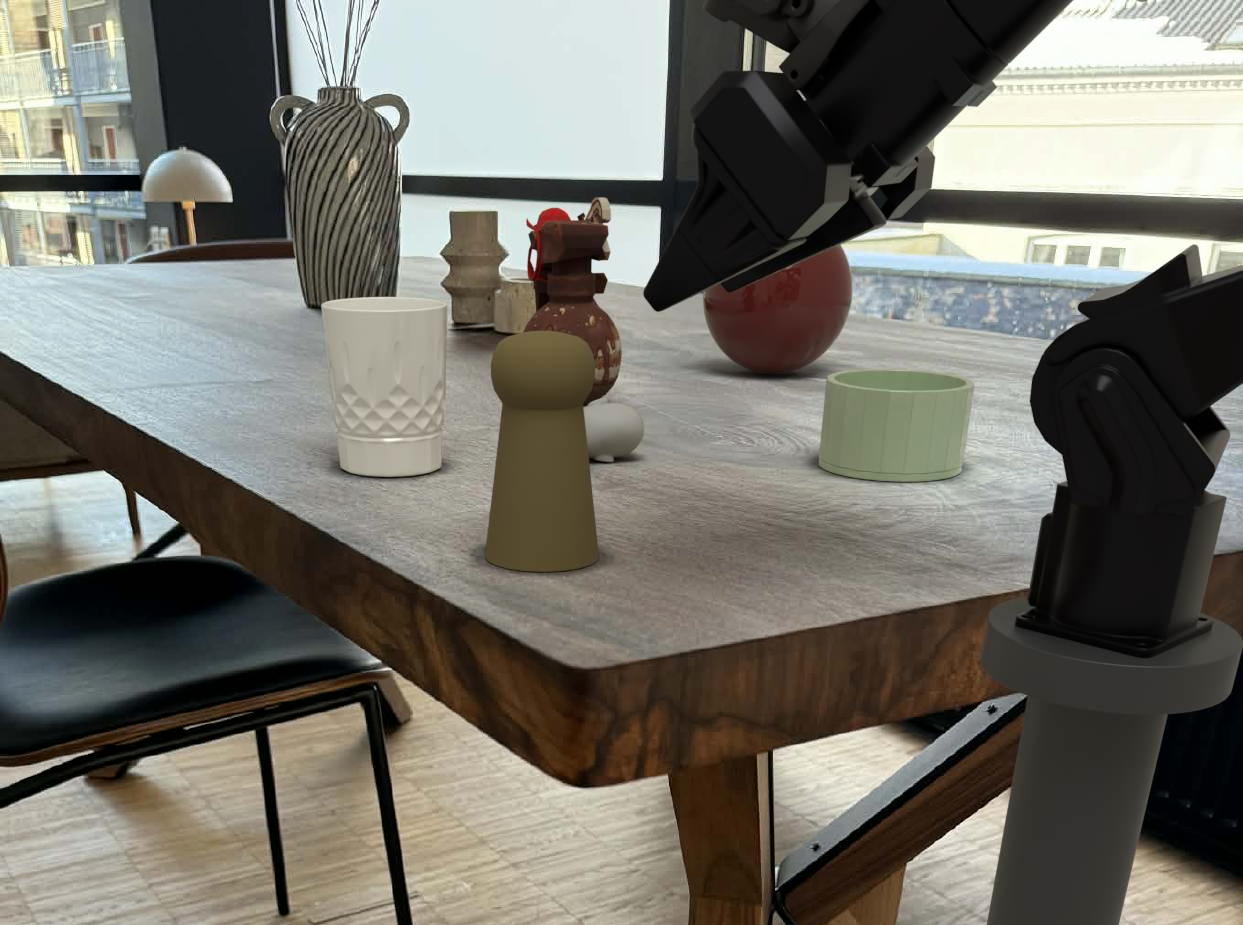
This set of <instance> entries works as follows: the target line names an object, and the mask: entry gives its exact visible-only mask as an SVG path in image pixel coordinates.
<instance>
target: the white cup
mask: <svg viewBox="0 0 1243 925" xmlns="http://www.w3.org/2000/svg"><path fill="white" fill-rule="evenodd" d="M320 308H321V315H322V316H321V317H322V326H323V335H324V345H325V354H326V355H325V356H326V365H327V375H328V383H329V388H330V399H331V407H332V414H333V422H334V425H335V427H336V429H337V431H336V435H337V446H338V456H339V466H340V468H341V470H344V471H346V472H347V473H350V474H355V475H358V476H365V477H384V478H388V477H389V478H393V477H394V478H395V477H410V476H411V477H412V476H419V475H424V474H425V475H426V474H429V473H433V472H435V471H437V470H439V469H441V468H442V463H443V462H442V461H443V432H444V431H443V427H444V424H445V418H446V417H445V406H446V398H447V397H446V394H447V393H446V389H447V387H446V382H447V381H446V379H447V335H448V334H447V333H448V332H447V331H448V330H447V327H448V326H447V324H448V304H447V302H445V301H442V300H439V299H434V298H433V299H432V298H425V297H424V298H422V297H409V296H371V297H370V296H364V297H349V298H340V299H333V300H327V301H325V302H323V303H321V305H320Z"/></svg>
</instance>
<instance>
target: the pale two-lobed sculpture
mask: <svg viewBox="0 0 1243 925" xmlns="http://www.w3.org/2000/svg"><path fill="white" fill-rule="evenodd" d="M583 408H584V417H585V427H586V436H587V446H588V456H589V460H591V459H592V460H595V461H598V462H606V463H614V462H615V458H621V457H624V456H627V455H629V454H631V453H632V452H633V451H634V450H636V449H637V448H638V446H640V443H641V442H642V440H643V437H644V434H645V424H644V420H643V417H642V416H641V413H640V412H639V411H637V409H635V408H634V407H632V406H630V405H628V404H625V403H621V402H609V399H608V398H607V397H602V398H600V399H597V400H595V401H592V402H590V403H589V404H588V405H587V406H583Z"/></svg>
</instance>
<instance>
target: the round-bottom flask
mask: <svg viewBox="0 0 1243 925" xmlns="http://www.w3.org/2000/svg"><path fill="white" fill-rule="evenodd" d="M853 285H854V284H853V275H852V269H851V265H850V262H849V258H848V256H847V254H846V252H845V250H844V248H843V246H842V244H841V245H838V246H836V247H834V248H832V249H829V250H827V251H825V252H823V253H820V254H818V255H816V256H813V257H811V258H809V259H807V260H804V261H802V262H799V263H797V264H795V265H793V266H791V267H788V268H786V269H784V270H782V271H779V272H777V273H775V274H773V275H770V276H768V277H766V278H764V279H761V280H759V281H757V282H755V283H752V284H750V285H748V286H746V287H743V288H741V289H739V290H737V291H735V292H731V293H729V292H727V291H726V290H725V289H724V288H723V287H722V285H721V284H718V285H716V286H714V287H711V288H709V289H707V290H705V291H703V292H702V307H703V314H704V319H705V322H706V326H707V328H708V331H709V333H710V335H711V338H712V339H713V341H714V342H715V344H716V345H717V347H718V348H719V349H720V351H721V352H722V353H723V354H724V355H725V356H726V357H727V358H729V360H731V361H732V362H733V363H735V364H737V365H738V366H740V367H742V368H744V369H745V370H749V371H751V372H753V373H758V374H764V375H782V374H786V373H788V374H789V373H791V372H795V371H799V370H800V369H803V368H805V367H807V366H809V365H811V364H812V363H814V362H815V361H816V360H818V359H819V358H821V356H823V355H824V354H825V353H826V352H827V351H828V350H829V349H830V348H831V347H832V346H833V345H834V343H835V342H836V341H837V339H838V338H839V336H840V334H841V333H842V331H843V329H844V327H845V325H846V322H847V320H848V317H849V313H850V310H851V306H852V300H853V288H854V287H853Z"/></svg>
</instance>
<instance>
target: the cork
mask: <svg viewBox="0 0 1243 925" xmlns="http://www.w3.org/2000/svg"><path fill="white" fill-rule="evenodd" d="M490 379H491V384H492V387H493V391H494V392H495V394H496V395H497V397H498V399H499V400H500V402H501V412H500V423H499V429H498V430H499V431H498V438H497V448H496V455H495V456H496V457H495V463H494V464H495V466H494V473H493V482H492V492H491V498H490V500H491V502H490V508H489V518H488V526H487V535H486V543H485V551H484V552H485V553H484V557H485V559H486V561H487V562H488V563H490V564H492V565H494V566H496V567H501V568H505V569H507V570H514V571H522V572H538V573H539V572H540V573H548V572H549V573H550V572H564V571H572V570H579V569H581V568H585V567H588V566H591V565H593V564H595V563H596V562H597V561H598V560H599V557H600V552H599V545H598V544H599V542H598V534H597V524H596V513H595V505H594V495H593V494H594V493H593V486H592V476H591V467H590V458H589V456H588V446H587V436H586V427H585V417H584V408H583V407H584V406H583V403H584V401H585V400H586V398H587V397H588V395H589V394H590V392H591V390H592V387H593V383H594V379H595V361H594V357H593V353H592V351H591V349H590V347H589V345H588V343H586V342H585V341H584V340H582V339H581V338H579V337H577V336H573V335H570V334H566V333H561V332H555V331H530V332H524V333H523V332H520V333H516V334H512V335H509V336H506V337H505V338H503V339H502V340H501V341H499V342H498V344H497V345H496V347H495V348H494V351H493V353H492V357H491V362H490Z"/></svg>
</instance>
